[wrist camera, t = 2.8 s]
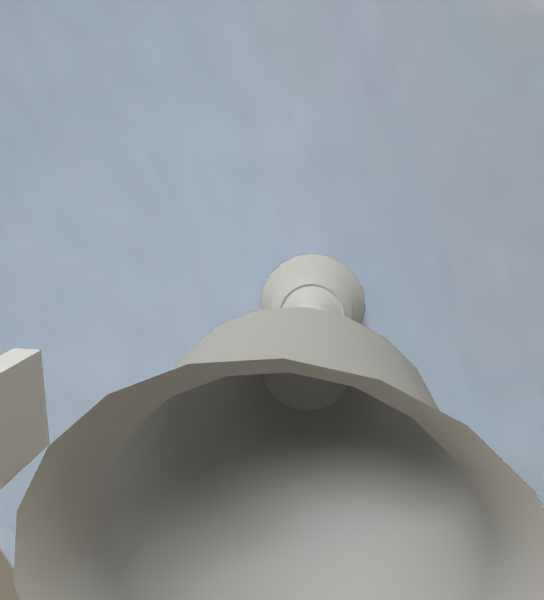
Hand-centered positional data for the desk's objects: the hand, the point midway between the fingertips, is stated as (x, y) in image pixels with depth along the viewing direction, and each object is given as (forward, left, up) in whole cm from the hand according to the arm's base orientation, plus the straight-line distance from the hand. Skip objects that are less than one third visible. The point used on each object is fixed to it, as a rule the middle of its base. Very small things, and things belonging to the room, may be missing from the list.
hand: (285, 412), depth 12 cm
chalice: (0, 0, -12) cm, 12 cm away
